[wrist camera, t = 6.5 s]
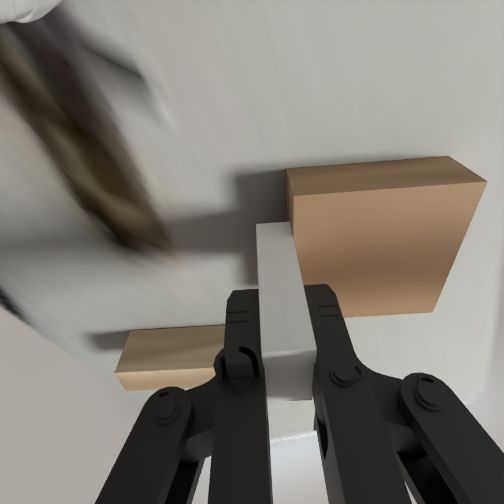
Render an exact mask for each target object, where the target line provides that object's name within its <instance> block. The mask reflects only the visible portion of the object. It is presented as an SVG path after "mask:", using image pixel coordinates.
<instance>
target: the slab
mask: <svg viewBox="0 0 504 504" xmlns="http://www.w3.org/2000/svg"><path fill="white" fill-rule="evenodd" d="M487 182H488V181H486V180H485V179H483V178H481V177H480V176H478V175H477V174H475V173H474V172H472V171H471V170H469V169H468V168H466V167H465V166H463V165H462V164H460V163H459V162H457V161H455V160H454V159H452V158H451V157H449V156H444V157H431V158H419V159H406V160H393V161H380V162H367V163H354V164H341V165H328V166H315V167H302V168H289V169H286V206H287V222H290V225H291V230H292V235H293V240H294V244H295V249H296V254H297V258H298V263H299V268H300V273H301V277H302V282H303V285H314V284H327V285H328V286H329V287H330V288H331V289H332V290H333V291H334V292H335V293H336V296H337V300H338V303H339V307H340V309H341V312H342V316H343V318H347V317H363V316H380V315H396V314H412V313H429V312H433V310H434V308H435V306H436V303H437V301H438V298H439V296H440V294H441V291H442V289H443V287H444V284H445V282H446V279H447V277H448V275H449V272H450V270H451V267H452V265H453V263H454V260H455V258H456V256H457V253H458V251H459V248H460V246H461V244H462V241H463V239H464V236H465V234H466V232H467V229H468V227H469V225H470V222H471V220H472V217H473V215H474V213H475V210H476V208H477V205H478V203H479V201H480V198H481V196H482V194H483V191H484V189H485V186H486V184H487Z"/></svg>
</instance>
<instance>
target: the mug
mask: <svg viewBox="0 0 504 504" xmlns="http://www.w3.org/2000/svg"><path fill="white" fill-rule="evenodd" d="M61 1H62V0H0V24H1V23H6V22H7V21H8V22H10V21H15V22H20V23H27V22H31V21H34V20H37V19H39V18H41V17H43V16H44V15H46V14H47V13H48V12H49V11H51V10H52V9H53V8H54V7H55V6H57V5H58V4H59V3H60V2H61Z"/></svg>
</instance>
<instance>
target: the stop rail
mask: <svg viewBox="0 0 504 504" xmlns="http://www.w3.org/2000/svg"><path fill="white" fill-rule="evenodd" d="M224 335H225V325H217V326H200V327H183V328H166V329H149V330H132V331H130V333H129V336H128V339H127V341H126V344H125V347H124V349H123V352H122V354H121V357H120V360H119V362H118V365H117V368H116V370H115V375H116V376H117V378H118V379H119V381H120V382H121V384H122V386H123V387H124V389H125V390H126V391H135V390H155V389H162V388H165V387H168V386H177V387H179V388H193V387H197V386H199V385H202V384H204V383H206V382H208V381H209V380H211V379H212V378H213V377H214V376H215V375H216V374H215V370H214V366H213V363H214V360H215V357H216V355H217V354H218V353H219V352H220V350H221V349H223V348H224Z"/></svg>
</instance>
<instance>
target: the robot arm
mask: <svg viewBox="0 0 504 504" xmlns="http://www.w3.org/2000/svg"><path fill="white" fill-rule="evenodd" d="M256 236H257V259H258V283H259V289H247V290H233V292H232V293H231V295H230V297H229V298H228V300H227V308H226V321H225V322H226V324H225V335H224V348H223V349H221V350H220V352H219V353H218V354H217V355H216V357H215V360H214V363H213V366H214V370H215V374H216V375H215V376H214V377H213V378H212V379H211V380H209V381H208V382H206V383H204V384H202V385H199V386H197V387H194V388H192V389H189V390H186V391H185V390H184V389H181V388H179V387H177V386H168V387H165V388H162V389H160V390H158V391H156V392H155V393H154V394H153V395H151V396H150V397H149V399H148V400H147V402H146V403H145V404H144V406H143V408H142V410H141V412H140V414H139V416H138V418H137V420H136V423H135V424H134V426H133V428H132V430H131V432H130V435H129V436H128V438H127V440H126V442H125V444H124V446H123V448H122V450H121V452H120V454H119V456H118V458H117V460H116V462H115V464H114V466H113V468H112V470H111V472H110V474H109V476H108V478H107V480H106V482H105V484H104V486H103V488H102V490H101V492H100V494H99V496H98V498H97V500H96V502H95V504H192V500H193V497H194V494H195V490H196V487H197V484H198V480H199V477H200V474H201V471H202V467H203V464H204V461H205V458H207V457H209V456H211V455H212V457H211V470H210V482H209V483H210V484H209V494H208V504H273V496H272V479H271V478H272V477H271V460H270V441H269V422H268V409H267V402H278V401H298V400H312V397H313V399H314V404H315V417H314V430H317V435H318V441H319V447H320V453H321V459H322V465H323V471H324V477H325V483H326V489H327V495H328V501H329V504H412V502H411V500H410V496H409V493H408V491H407V488H406V485H405V482H406V484H407V486H408V488H409V490H410V492H411V493H412V495H413V497H414V499H415V501H416V502H417V504H504V453H503V452H502V451H501V449H500V448H499V447H498V446H497V445H496V443H495V442H494V441H493V440H492V438H491V437H490V436H489V435H488V434H487V432H486V431H485V430H484V429H483V428H482V426H481V425H480V424H479V423H478V421H477V420H476V419H475V418H474V416H473V415H472V414H471V413H470V412H469V410H468V409H467V408H466V407H465V405H464V404H463V403H462V402H461V401H460V399H459V398H458V397H457V396H456V395H455V393H454V392H453V391H452V390H451V389H450V388H449V387H448V386H447V385H446V384H445V383H444V382H443V381H442V380H440V379H438V378H436V377H434V376H432V375H429V374H425V373H411V374H410V375H408V376H406V377H405V378H404V379H403V380H402V379H398V378H394V377H390V376H386V375H382V374H380V373H377V372H374V371H372V370H371V369H369V368H367V367H366V366H365V365H364V364H363V363H361V361H360V360H359V359H358V358H357V356H356V354H355V352H354V349H353V346H352V343H351V340H350V336H349V333H348V330H347V327H346V324H345V321H344V318H343V316H342V312H341V309H340V307H339V303H338V300H337V296H336V293H335V292H334V291H333V290H332V289H331V288H330V287H329V286H328V285H327V284H314V285H303V282H302V277H301V273H300V268H299V263H298V258H297V254H296V249H295V244H294V240H293V235H292V230H291V225H290V222H277V223H262V224H256ZM404 481H405V482H404Z"/></svg>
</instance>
